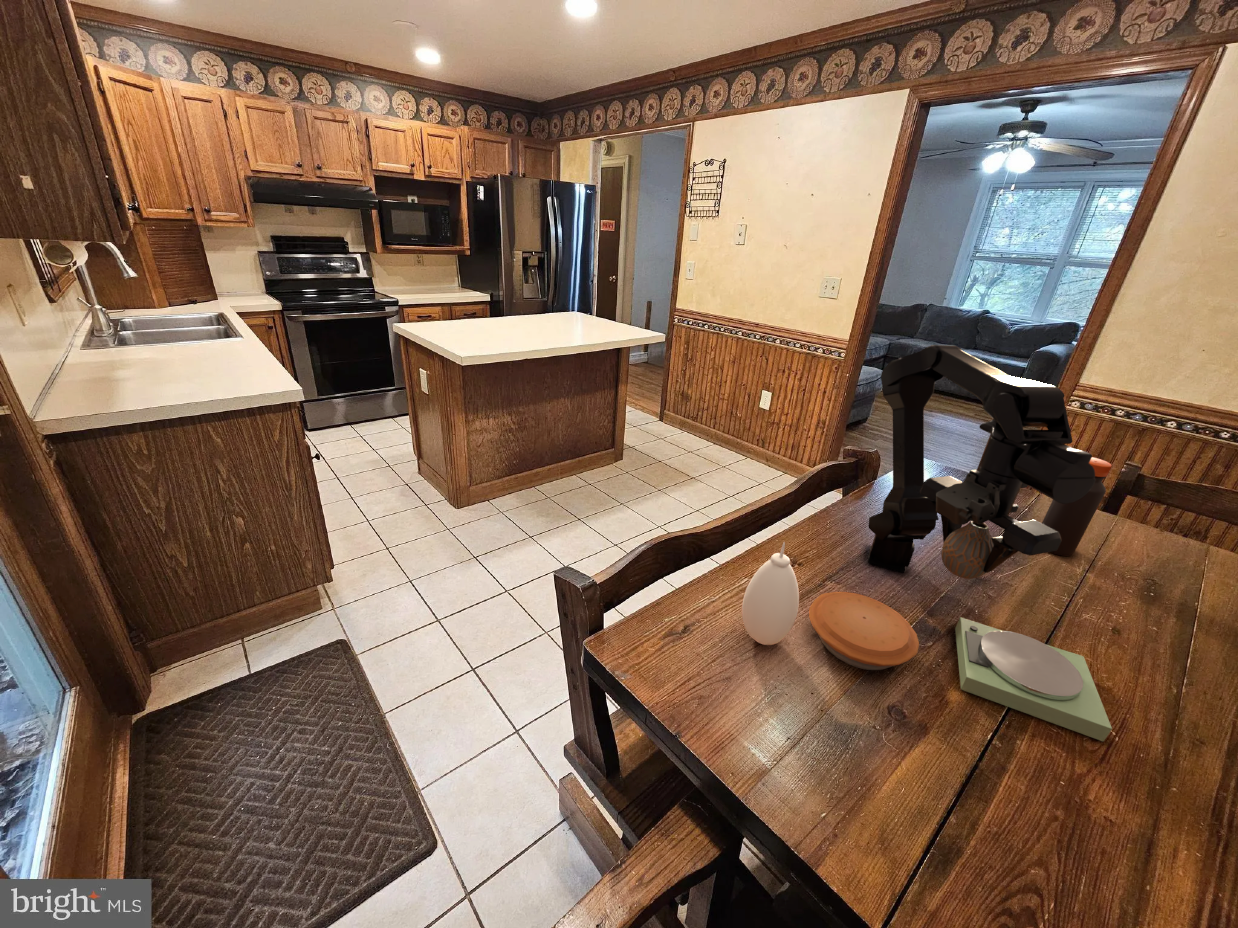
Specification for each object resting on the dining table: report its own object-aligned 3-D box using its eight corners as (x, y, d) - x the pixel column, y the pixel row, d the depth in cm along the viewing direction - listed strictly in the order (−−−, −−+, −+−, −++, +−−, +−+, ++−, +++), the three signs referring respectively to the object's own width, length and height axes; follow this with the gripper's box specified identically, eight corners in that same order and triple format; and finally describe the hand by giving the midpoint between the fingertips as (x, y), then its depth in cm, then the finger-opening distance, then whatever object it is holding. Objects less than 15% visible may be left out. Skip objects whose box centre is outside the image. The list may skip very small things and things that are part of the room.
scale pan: (983, 676, 71) (985, 672, 71) (975, 623, 81) (977, 620, 81) (1091, 714, 66) (1094, 710, 66) (1069, 653, 76) (1071, 649, 76)
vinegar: (1070, 545, 109) (1114, 460, 100) (1075, 560, 104) (1122, 472, 95) (1032, 534, 112) (1071, 451, 103) (1034, 549, 107) (1076, 462, 98)
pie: (903, 623, 84) (912, 599, 82) (920, 696, 71) (931, 670, 69) (805, 598, 89) (811, 575, 86) (803, 663, 75) (811, 638, 73)
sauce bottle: (754, 614, 84) (774, 521, 77) (797, 640, 80) (823, 543, 72) (727, 637, 79) (745, 540, 72) (771, 666, 74) (796, 565, 67)
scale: (960, 689, 72) (967, 675, 71) (954, 628, 84) (960, 615, 83) (1103, 741, 66) (1113, 727, 65) (1076, 668, 77) (1084, 654, 76)
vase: (993, 588, 78) (1015, 540, 75) (945, 580, 80) (963, 532, 76) (975, 562, 85) (994, 516, 81) (930, 555, 86) (946, 510, 82)
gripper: (908, 448, 80) (881, 532, 87) (1023, 506, 64) (979, 604, 71) (962, 443, 83) (933, 525, 90) (1085, 497, 67) (1038, 592, 74)
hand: (965, 558), depth 81 cm, fingers closed on vase, 7 cm apart
